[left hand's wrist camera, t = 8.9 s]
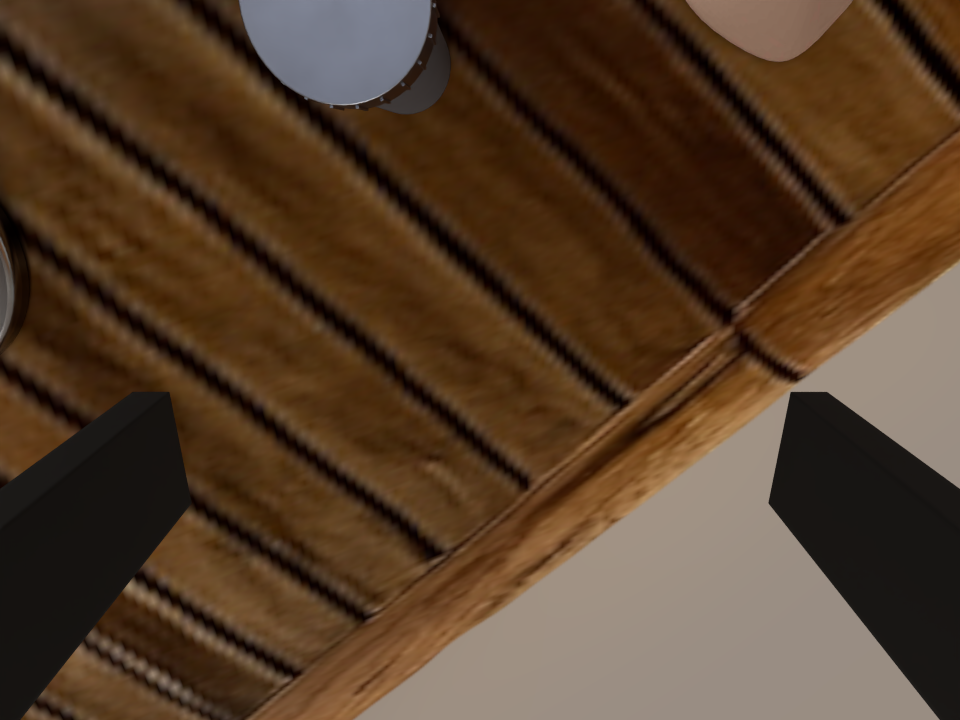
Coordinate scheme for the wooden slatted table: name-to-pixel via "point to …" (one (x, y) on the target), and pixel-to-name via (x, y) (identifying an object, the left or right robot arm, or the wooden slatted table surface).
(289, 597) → the wooden slatted table surface
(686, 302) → the wooden slatted table surface
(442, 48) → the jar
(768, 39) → the anatomical model
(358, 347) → the wooden slatted table surface
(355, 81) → the lid
